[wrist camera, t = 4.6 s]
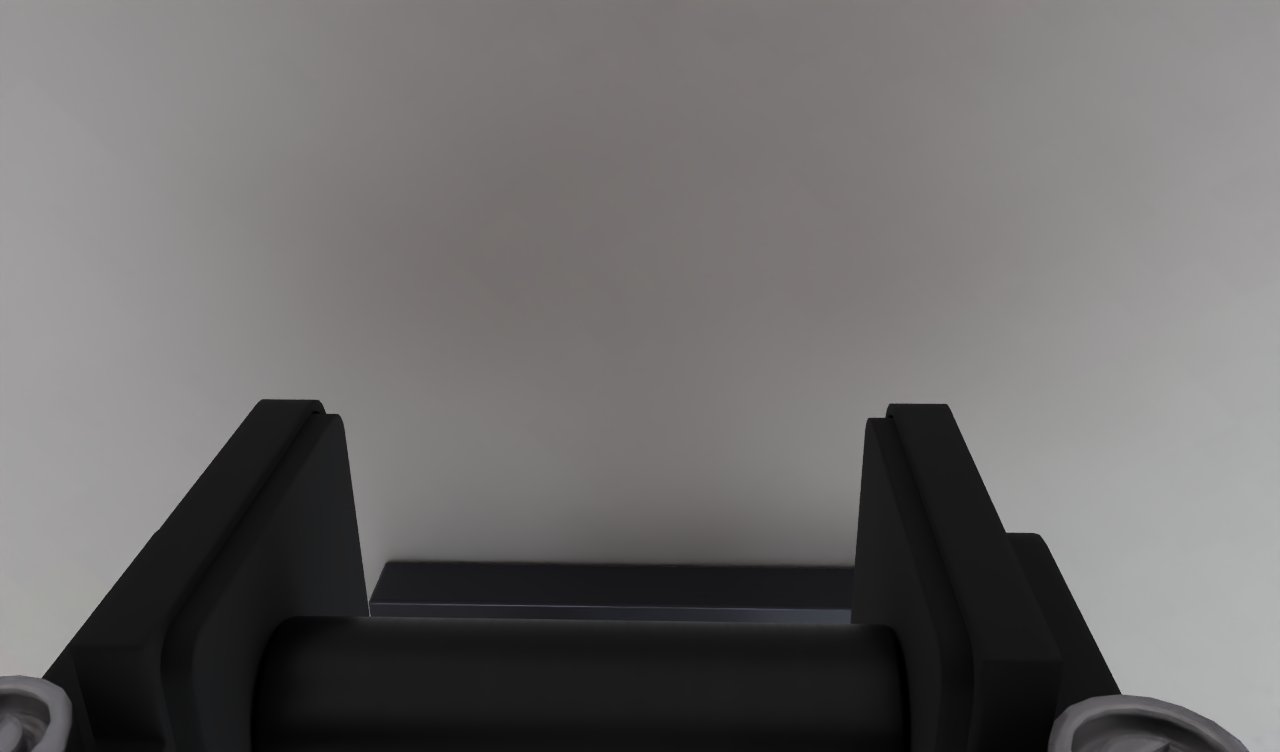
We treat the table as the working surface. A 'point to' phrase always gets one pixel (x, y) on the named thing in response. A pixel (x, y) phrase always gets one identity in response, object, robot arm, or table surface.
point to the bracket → (614, 593)
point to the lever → (579, 686)
